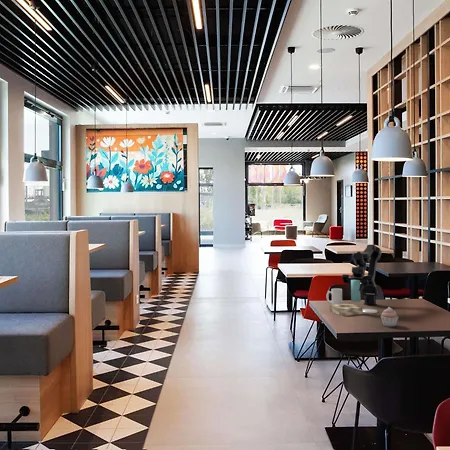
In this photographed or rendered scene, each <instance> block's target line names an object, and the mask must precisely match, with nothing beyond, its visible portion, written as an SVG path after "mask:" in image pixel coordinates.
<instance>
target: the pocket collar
mask: <svg viewBox="0 0 450 450" xmlns="http://www.w3.org/2000/svg"><path fill="white" fill-rule="evenodd" d="M363 309H364V308H363V306H360V305H356V304H353V303H342V304H337V305H332V304H330V305H329V312H330V313H333V314H336V315H339V316H341V317H344V316H353V315H354V316H355V315H363V314H364V313H363Z"/></svg>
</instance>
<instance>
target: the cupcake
mask: <svg viewBox="0 0 450 450" xmlns="http://www.w3.org/2000/svg"><path fill="white" fill-rule="evenodd" d="M380 319H381V321H382V324H383V326H384V327H389V328H394V327H396V326H397V322H398V320H399V316H398V315H397V312H396V311H395V310H393V308H391V307H390V306H388V307H387V308H386V309H384V310H383V312H382V313H381V315H380Z"/></svg>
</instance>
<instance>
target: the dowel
mask: <svg viewBox="0 0 450 450" xmlns="http://www.w3.org/2000/svg"><path fill="white" fill-rule="evenodd" d="M360 286H361V281H360V280H351V291H350V297H351V299H350V300H351V302H353V303H359V302H361V299H362V298H361V291H359V289H360Z"/></svg>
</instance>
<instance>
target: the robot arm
mask: <svg viewBox="0 0 450 450" xmlns="http://www.w3.org/2000/svg"><path fill="white" fill-rule="evenodd" d="M381 256H382V250H381V248H380V247H378V246H376V244H367V245H366V247H365V249H364V250H363V251H362V252H361V251H356V253H354V254H352V258H353V262H354V264H355V265H356V266H352V267H351V273H352V276H351V275H350V274H342V275H341V279H342V282H343V283H345V284H348V285H349V291H350V292H351V280H360V289H359V291H360V292H362V295H363V296H364V303H363V304H364V305H366V306H378V303H377V297H378V296H379V292H378V289H377V284H376V282H375V279H376V278H375V277H376V270H377V263H378V261H379V260H380V259H381ZM367 265H368V270H367ZM366 270H367V275H366Z"/></svg>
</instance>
